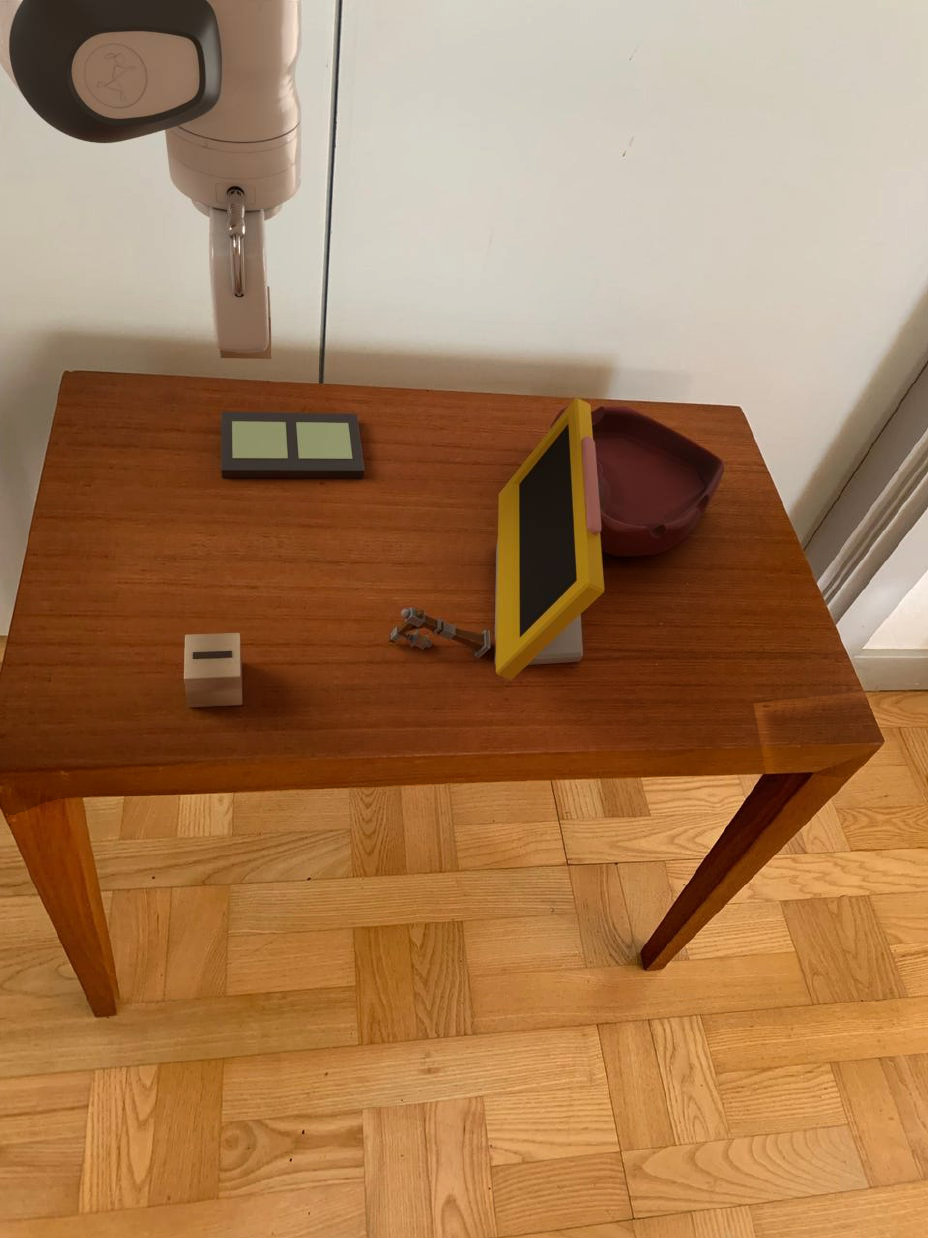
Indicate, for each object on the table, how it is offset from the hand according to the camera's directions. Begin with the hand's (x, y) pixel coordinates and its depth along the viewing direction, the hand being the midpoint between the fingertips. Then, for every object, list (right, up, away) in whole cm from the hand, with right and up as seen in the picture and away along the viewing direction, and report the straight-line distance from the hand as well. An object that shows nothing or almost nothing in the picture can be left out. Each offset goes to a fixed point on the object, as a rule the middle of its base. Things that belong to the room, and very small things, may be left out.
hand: (244, 325), depth 74 cm
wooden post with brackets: (+15, -26, +3) cm, 30 cm away
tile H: (0, -1, +1) cm, 2 cm away
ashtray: (+34, -12, +18) cm, 40 cm away
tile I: (-2, -28, -2) cm, 29 cm away
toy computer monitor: (+24, -22, +8) cm, 34 cm away
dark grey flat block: (+1, -7, +15) cm, 16 cm away
